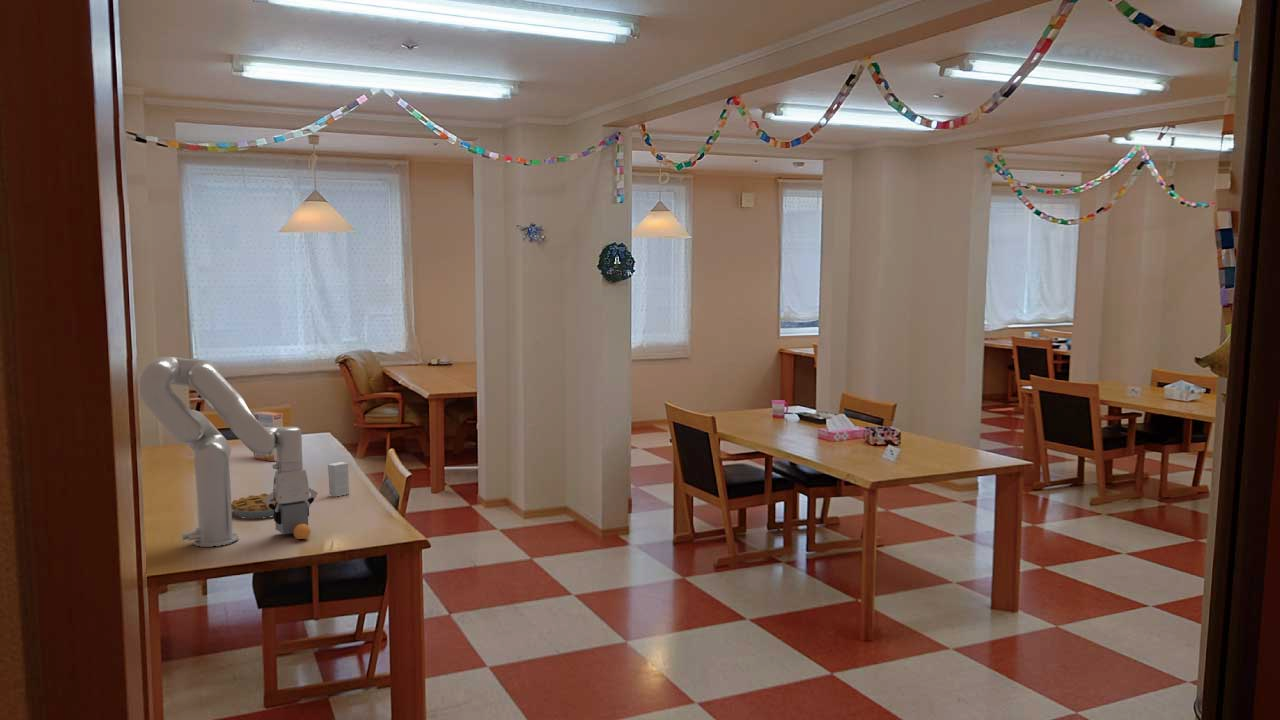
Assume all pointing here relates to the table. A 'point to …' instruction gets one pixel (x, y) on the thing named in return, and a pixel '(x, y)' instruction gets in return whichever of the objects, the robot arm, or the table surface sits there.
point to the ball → (302, 531)
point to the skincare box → (338, 479)
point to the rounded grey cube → (292, 516)
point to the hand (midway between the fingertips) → (291, 520)
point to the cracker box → (269, 421)
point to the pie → (252, 507)
